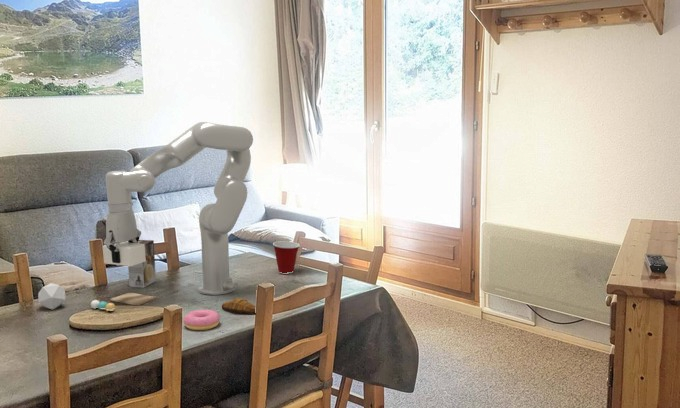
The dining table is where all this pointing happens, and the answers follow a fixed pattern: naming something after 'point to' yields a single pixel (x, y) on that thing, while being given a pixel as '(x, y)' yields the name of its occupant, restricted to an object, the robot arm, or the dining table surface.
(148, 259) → the coffee box
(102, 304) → the marble teal
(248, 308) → the croissant
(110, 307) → the marble amber
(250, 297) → the dining table surface
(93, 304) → the marble white
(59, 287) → the die
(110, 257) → the white rounded block
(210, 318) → the doughnut
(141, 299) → the tan flat pointed slab
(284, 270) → the plastic cup
